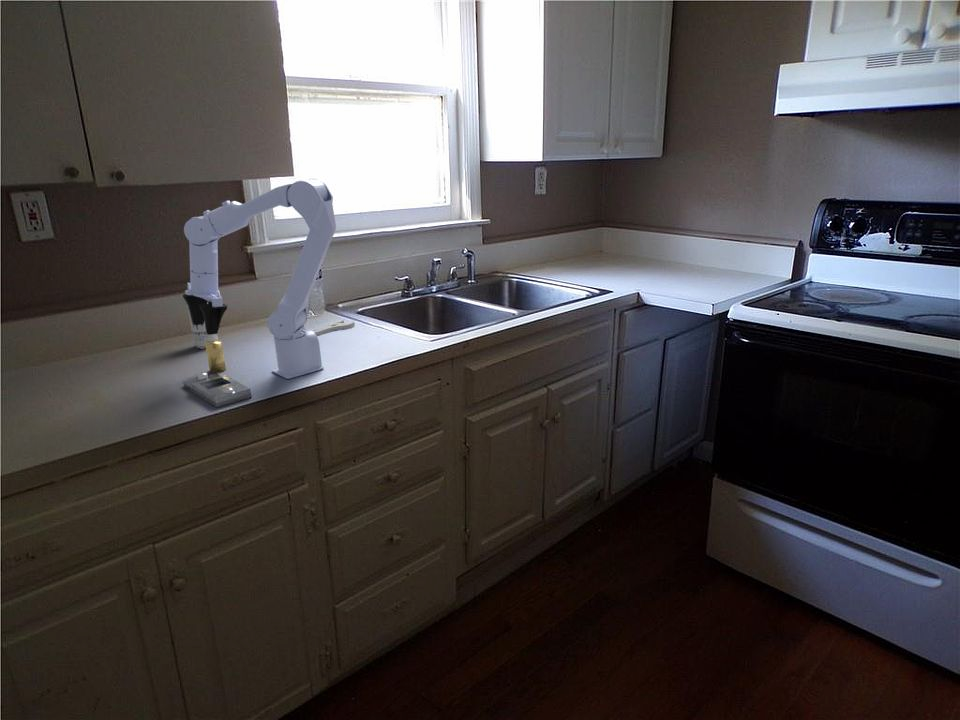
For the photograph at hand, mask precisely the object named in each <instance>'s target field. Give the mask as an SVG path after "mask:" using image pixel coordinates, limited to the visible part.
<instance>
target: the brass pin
mask: <svg viewBox="0 0 960 720" xmlns="http://www.w3.org/2000/svg"><path fill="white" fill-rule="evenodd" d="M205 347H206V349H205V352H206V357H207V362H208V363H207V364H208V369H209V373H212V374H218V372H219V373H223V372H226V370H227V366H226V365H227V364H226V359H225V355H224V349H223V342H222V340H221V339H218V340H211V341H207V342H205Z"/></svg>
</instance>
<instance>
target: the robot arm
mask: <svg viewBox="0 0 960 720" xmlns="http://www.w3.org/2000/svg"><path fill="white" fill-rule="evenodd" d="M326 184H327V183H325V182H324V181H322V180H321V179H318V178H309V179H306V180H298V181H295V182H292V183H288V184H284V185H280V186H277V187H274V188H272V189H270V190H268V191H266V192H265V193H262V194H261V195H258V196H256V197H254V198H252V199H250V200H248V201H246V202H244V203H242V202H238V201H237V200H233V201H230V200H224V201H223V202H221V205H222V206H219V207H217V208H215V209H213V210H209V209H207V210H205V211H203V213H202V214H203V215H201V216H193V217H191V218H190V219H188V220H187V221H186V222H185V224H184V227H183V233H184V236H185V237H186V239H187V241H188V242H189V243H188V244H189V249H188V251H189V275H190V276H189V278H190V279H189V281H190V282H187V289H186V290H184V294H183V295H182V298H183V299H184V301H185V302H186V306H187V305H188V307H189V310H190V314H191V317H192V321H193V324H194V325H202V324H204V321H205V328H206V332H207V334H208V335H212V334H217V335H218V332H219V328H220V325H221V321H222V318H223V316H224V314H225V312H226V311H227V309H228V305H227V304H225V303H224V302H223V297H222V296H221V293H220V292H221V291H220V289H219V257H218V256H219V255H218V252H219V250H218V244H219V243H218V241H219V239H221V237H222V238H223V237H225V236H228V235H229V234H232V233H234V232H236V231H238V230H241V229H243V228H245V227H247V226H248V225H249V224H250V220H251V218H252V217H254V216H257V215H260V214H262V213H264V212H268V211H269V210H271V209H272V210H273V209H274V208H277V207H279V206H281V207H285V208H291V207H292V209H294V210H295V211H296V212H297V213H298V214H299V215H300V216H301V217H302V219H304V221H305V223H306V225H307V227H308V229H309V230H308V234H307V237H306V238H305V242H304V244H303V246H302V250H301V252H300V255H299V258H298V260H297V262H296V265H295V267H294V270H293V273H292V276H291V279H290V281H289V283H288V286H287V289H286V290H285V291H286V292H285V294H284V295H283V297H282V298H281V300H280V301H279V303H278V305H277V308H276V309H275V311H273V313H271V314H270V315H269V316H268V318H267V328H268V331H270V333H271V334H272V335H273V342H274V348H275V354H276V355H275V356H276V363H277V367H275V368H272V369H271V372H272V373H274V374H276V375H278V376H280V377H282V378H284V379H286V380H289V379H293V378H296V377H300V376H303V375H308V374H311V373H314V372H317V371H318V372H319V371H321V370H324V369H325V368H324V366H323V365H322V355H321V348H320V341H319V338H318V336H316V334H315V333H314V332H313V331H312V329H311V330H307V329H306V328H305V324H307V321H308V307H309V305H310V302H309V299H310V295H311V292H312V290H313V288H314V285H315V283H316V280H317V277H318V276H319V273H320V270H321V268H322V265H323V263H324V260H325V257H326V255H327V253H328V250H329V247H330V245H331V242H332V240H333V237H334V235H335V233H336V229H337V223H336V218H335V211H334V205H333V204H334V203H333V201H334V197H333V194H332V192H330V190H329V187H328V186H327V185H326ZM207 302H208V304H207Z"/></svg>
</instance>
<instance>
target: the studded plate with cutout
mask: <svg viewBox="0 0 960 720" xmlns="http://www.w3.org/2000/svg"><path fill="white" fill-rule="evenodd" d="M182 384H183V387H184V388H185V389H188V390H189V391H190V392H192V393H193V394H195V395H196V396H198V397H199V396H200V397H199V398H201V399H202V398H203V400H204V401H205V400H206V402H207V401H208V402H207V403H208V404H210V403H211V404H210V405H212V406H213V405H214V406H213V407H215V406H216V407H218V408H220V407H219V406H221V407H224V406H223V405H225V406H227V405H226V404H228V405H231V404H230V403H232V404H234V403H233V402H235V403H238V402H241V401H240V400H242V401H244V400H243V399H245V400H248V399H251V398H250V397H252V391H251V388H250V387H248V386H246V385H244V384H242V383H241V382H239V381H237V380H235V378H232V377H230V376H228V375H227V374H222V375H220V374H218V373H212V374H208V372H207V371H202V372H198V373H197V378H194V379H190V380H186V381H183V383H182ZM247 398H248V399H247ZM237 401H238V402H237ZM216 407H215V408H216Z"/></svg>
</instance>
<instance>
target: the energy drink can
mask: <svg viewBox="0 0 960 720" xmlns="http://www.w3.org/2000/svg"><path fill="white" fill-rule="evenodd" d="M207 304H208V302H207ZM186 309H187V313H188V317H189V325H190V329H191V335H192V340H193V345H194V346H195V347H196V348H197V349H198V348H200V349H199V350H201V349H202V350H206V349H205V348H206V347H205V342H207V341H211V340H219V338H218V333H217V334H212V335H208V334H207V332H206V328H205V321H204V324H202V325H194V324H193V321H192V317H191V314H190V310H189V307H188V305H187V304H186Z"/></svg>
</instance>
